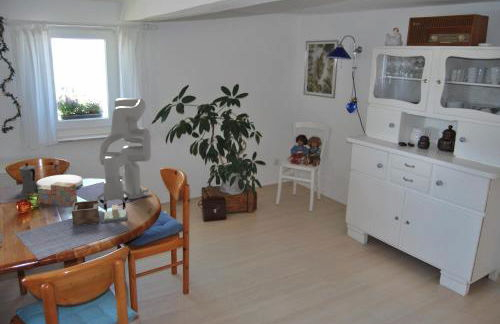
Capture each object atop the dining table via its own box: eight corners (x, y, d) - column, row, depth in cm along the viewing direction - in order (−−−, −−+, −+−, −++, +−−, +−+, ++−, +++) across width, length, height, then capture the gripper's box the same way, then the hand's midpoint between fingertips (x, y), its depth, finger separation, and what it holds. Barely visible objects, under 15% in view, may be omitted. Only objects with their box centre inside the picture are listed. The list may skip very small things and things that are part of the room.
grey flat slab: (126, 210, 231) (126, 210, 231) (127, 220, 218) (127, 219, 218) (101, 213, 227) (101, 212, 227) (101, 223, 214) (101, 222, 214)
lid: (126, 211, 229) (125, 202, 228) (126, 218, 220) (126, 209, 218) (104, 213, 226) (104, 204, 225) (104, 220, 216) (103, 211, 215)
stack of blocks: (39, 203, 241) (36, 183, 238) (46, 199, 247) (44, 180, 244) (71, 206, 237) (68, 186, 233) (77, 203, 243) (75, 183, 239)
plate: (67, 171, 288) (91, 177, 275) (67, 180, 290) (91, 187, 276) (27, 176, 265) (52, 184, 251) (27, 186, 266) (52, 194, 252)
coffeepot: (17, 190, 263) (13, 162, 258) (32, 186, 270) (29, 159, 266) (29, 195, 254) (25, 167, 249) (44, 191, 261) (41, 163, 257)
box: (98, 214, 226) (97, 200, 224) (98, 223, 214) (96, 208, 212) (75, 216, 223) (73, 202, 221) (73, 226, 211) (71, 211, 209)
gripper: (129, 175, 223) (131, 205, 228) (95, 178, 218) (98, 209, 223) (130, 179, 217) (132, 210, 221) (94, 182, 211) (97, 214, 216)
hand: (115, 209), depth 222 cm, fingers open, 8 cm apart
